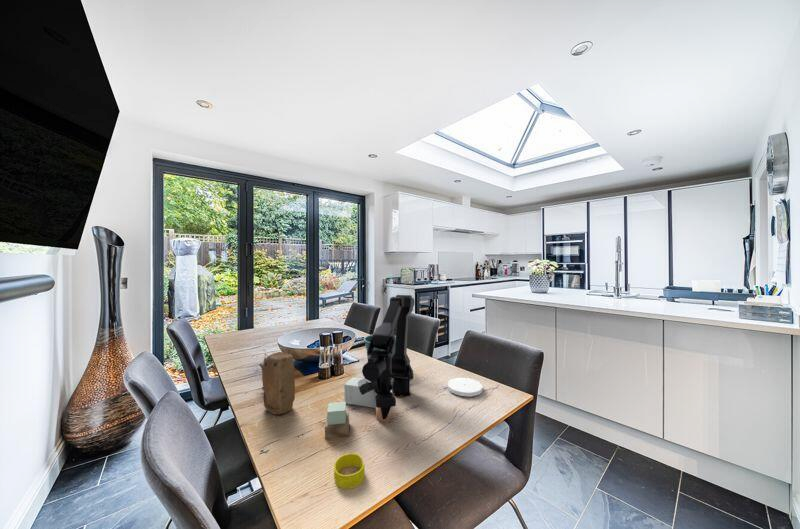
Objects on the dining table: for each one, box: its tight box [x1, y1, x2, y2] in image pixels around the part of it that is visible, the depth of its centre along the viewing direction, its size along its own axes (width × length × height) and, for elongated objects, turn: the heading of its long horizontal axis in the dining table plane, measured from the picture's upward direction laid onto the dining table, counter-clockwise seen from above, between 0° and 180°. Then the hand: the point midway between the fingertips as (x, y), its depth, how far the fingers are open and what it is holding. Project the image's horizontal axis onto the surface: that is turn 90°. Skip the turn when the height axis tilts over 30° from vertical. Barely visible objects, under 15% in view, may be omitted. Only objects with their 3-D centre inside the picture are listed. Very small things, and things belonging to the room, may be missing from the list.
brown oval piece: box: [375, 407, 392, 423], centre depth 99 cm, size 5×5×4 cm
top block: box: [326, 401, 347, 425], centre depth 91 cm, size 6×6×4 cm
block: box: [261, 351, 296, 416], centre depth 104 cm, size 11×8×20 cm
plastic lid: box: [446, 377, 483, 397], centre depth 119 cm, size 14×14×2 cm
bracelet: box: [333, 452, 365, 489], centre depth 72 cm, size 7×8×3 cm
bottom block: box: [324, 411, 350, 440], centre depth 91 cm, size 7×7×4 cm
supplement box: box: [343, 377, 377, 409], centre depth 110 cm, size 7×7×13 cm
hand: (383, 414), depth 99 cm, fingers open, 5 cm apart
